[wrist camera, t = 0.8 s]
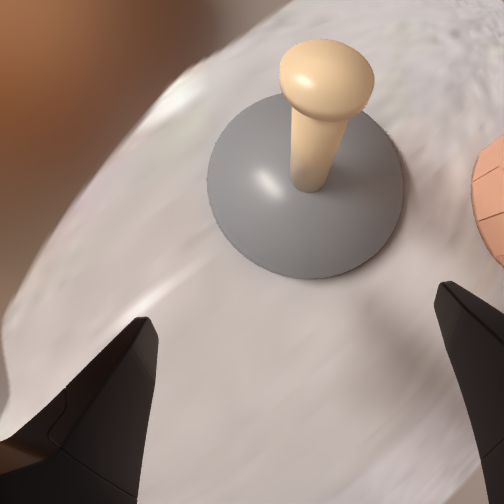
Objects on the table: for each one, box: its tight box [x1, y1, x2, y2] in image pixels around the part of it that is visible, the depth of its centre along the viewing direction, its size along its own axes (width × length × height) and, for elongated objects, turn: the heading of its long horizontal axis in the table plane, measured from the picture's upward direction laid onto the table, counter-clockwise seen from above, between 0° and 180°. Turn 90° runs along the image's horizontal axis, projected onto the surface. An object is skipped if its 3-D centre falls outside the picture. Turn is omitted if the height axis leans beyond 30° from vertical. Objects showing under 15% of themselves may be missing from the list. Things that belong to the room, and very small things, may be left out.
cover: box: [207, 39, 404, 279], centre depth 16 cm, size 14×14×13 cm
